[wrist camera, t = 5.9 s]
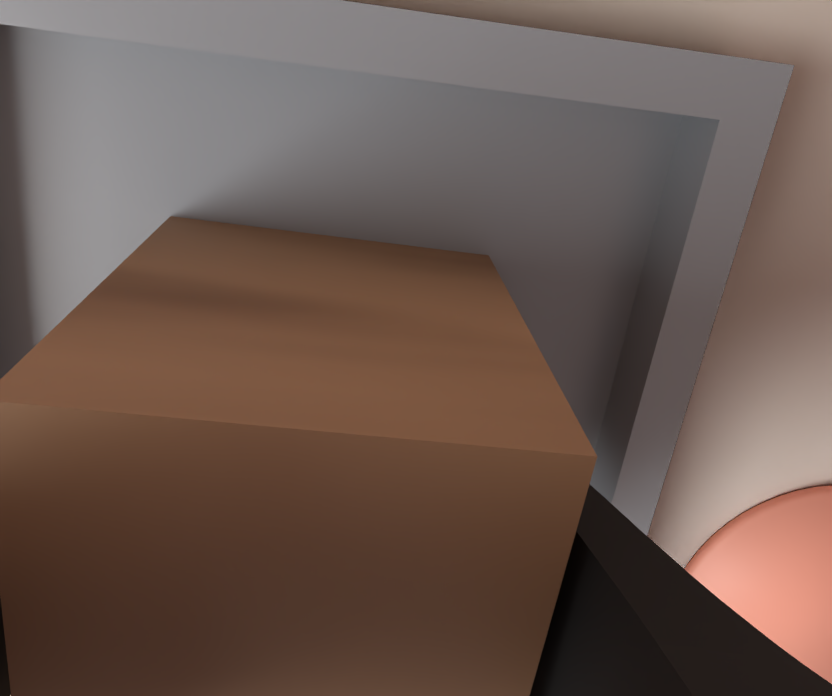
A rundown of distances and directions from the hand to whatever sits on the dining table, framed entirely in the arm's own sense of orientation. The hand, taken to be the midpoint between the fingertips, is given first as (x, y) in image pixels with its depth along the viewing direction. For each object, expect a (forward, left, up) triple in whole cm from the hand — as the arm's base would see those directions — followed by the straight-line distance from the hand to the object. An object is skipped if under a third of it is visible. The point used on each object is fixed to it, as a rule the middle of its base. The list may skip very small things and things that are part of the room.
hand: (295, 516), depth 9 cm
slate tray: (0, 0, -4) cm, 4 cm away
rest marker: (-4, -11, -4) cm, 13 cm away
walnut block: (0, 0, -4) cm, 4 cm away
